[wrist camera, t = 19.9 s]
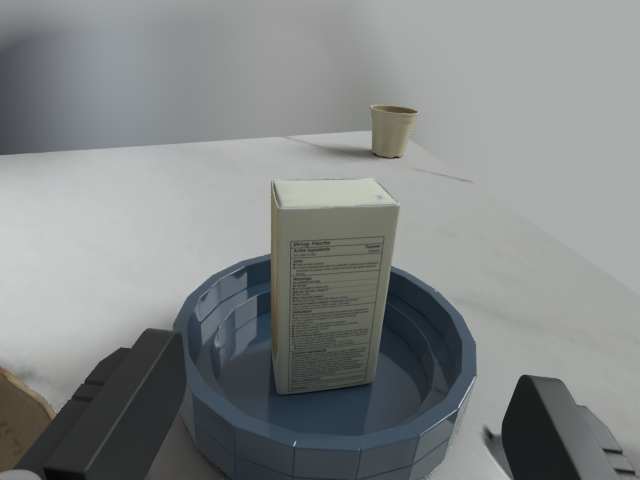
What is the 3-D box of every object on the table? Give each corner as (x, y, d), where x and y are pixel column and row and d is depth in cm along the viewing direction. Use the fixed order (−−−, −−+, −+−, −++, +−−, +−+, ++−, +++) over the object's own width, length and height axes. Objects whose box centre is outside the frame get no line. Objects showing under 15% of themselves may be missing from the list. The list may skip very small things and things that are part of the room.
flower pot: (404, 149, 86) (412, 106, 82) (417, 162, 77) (426, 115, 73) (360, 146, 85) (365, 103, 81) (368, 159, 76) (374, 111, 72)
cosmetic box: (355, 340, 29) (379, 175, 24) (375, 386, 26) (409, 203, 20) (265, 347, 28) (268, 174, 22) (271, 397, 24) (277, 204, 19)
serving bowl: (460, 329, 32) (474, 281, 30) (453, 577, 17) (480, 513, 15) (257, 278, 37) (258, 233, 35) (109, 441, 22) (95, 377, 20)
